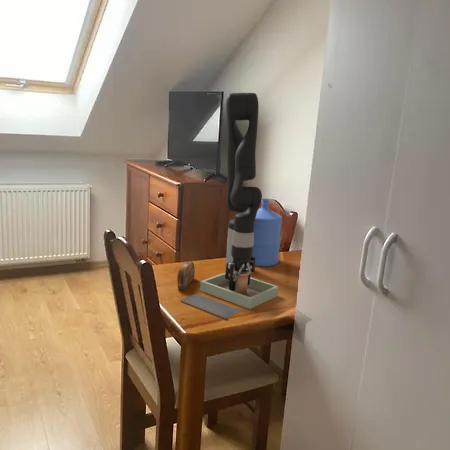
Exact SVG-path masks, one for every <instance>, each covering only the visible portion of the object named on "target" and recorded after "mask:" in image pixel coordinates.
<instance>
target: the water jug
mask: <svg viewBox="0 0 450 450" xmlns="http://www.w3.org/2000/svg"><path fill="white" fill-rule="evenodd" d="M269 202H270V199H269V198H262V200H261V205H260V206H261V207H259V209H258V211H257V214H256V218H255V223H254V243H253V256H254V257H255V267H256V266H257V267H271V266H276V265H277V264H278V262H279V251H280V243H281V242H280V241H281V240H280V239H281V230H282V224H283V221H282V220H283V217H282V215H280V214H279V213H277V212H275V211H273V210H271V209H270V208H269V206H270V205H269V204H270V203H269Z"/></svg>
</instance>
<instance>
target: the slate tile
mask: <svg viewBox="0 0 450 450" xmlns="http://www.w3.org/2000/svg"><path fill="white" fill-rule="evenodd" d="M180 303H182V304H184V305H186V306H189V307H192V308H194V309H197V310H199V311H202V312H204V313H206V314H209V315H212V316H215V317H216V318H219V319H221V320H223V321H226V322H227V321H229V319H228V318H231V317H232V316H234V315H236V314H238V313H240V312H242V311H243V310H241V309H238V308H237V307H233V306H231V305H228V304H225V303H223V302H220V301H218V300H216V299H213V298H209V297H208V296H204V295H202V294H200V293H194V294H192V295H188V296H186V297H183V298H181V299H180Z"/></svg>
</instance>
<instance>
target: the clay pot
mask: <svg viewBox="0 0 450 450" xmlns="http://www.w3.org/2000/svg"><path fill="white" fill-rule="evenodd" d="M234 272H236V271H235V270H234ZM248 276H249V271H247V270H245V271H243V272H241V273H240V275H239V276H237V278H236V280H235V281H236V285H235V291H233V292H236V293H239V294H242V295H246V294H247V285H248ZM233 277H234V274H233Z"/></svg>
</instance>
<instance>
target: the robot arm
mask: <svg viewBox="0 0 450 450" xmlns="http://www.w3.org/2000/svg"><path fill="white" fill-rule="evenodd" d="M225 114H226V127H227V130H226V131H227V143H226V144H227V145H226V146H227V149H226V165H227V186H226V209H227V210H228V211H229V212H234V213H237V214H235V215H234V218H233V219H231V220H229V222H228V223H227V224H228V227H227V241H226V256H225V272H226V273H225V272H224V273H225V279H227V280H229V290H231V291H235V285H236V281H235V280H236V278H237V276H239V275H240V273H241V272H243V271H245V270H247V271H249V276H248V285H249V284H250V277H251V275H252V274H253V273H255V271H256V266H255V257H254V256H253V243H254V223H255V218H256V214H257V211H258V209H260V206H261V205H262V199H263V194H262V193H263V192H262V190H261V189H260V188H259V187H257V186H243V184H244V182H246V181H247V182H248V181H252V180H255V178H256V177H257V172H256V171H257V170H256V169H257V168H256V167H257V163H256V148H257V136H258V125H259V124H258V123H259V98H258V95H257V93H256V92H231V93H229V94H227V96H226V99H225ZM236 121H248V127H247V131H246V132H245V135H243V134H242V132H241V130H240V129H239V127H238V124H237V122H236ZM234 270H235V271H236V272H234ZM229 274H230V275H229ZM233 274H234V277H233ZM228 275H229V276H228Z"/></svg>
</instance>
